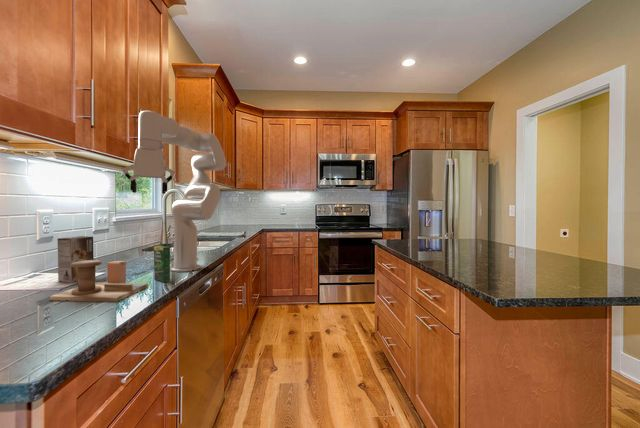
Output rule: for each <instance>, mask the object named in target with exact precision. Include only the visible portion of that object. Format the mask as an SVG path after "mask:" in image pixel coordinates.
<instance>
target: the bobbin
mask: <svg viewBox="0 0 640 428" xmlns="http://www.w3.org/2000/svg"><path fill="white" fill-rule="evenodd" d="M102 262H103V261H102V260H98V259H95V260H88V261H79V262H74V263H72V264H71V266H72V267H78V281H77V287H78V288H76V287H75V288H76V289H74V290H72V295H88V294H93V293H97V292H100V291H101V290H102V287H100V286H95V282H96V267H97V266H101V265H103V264H102Z"/></svg>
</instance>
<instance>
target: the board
mask: <svg viewBox="0 0 640 428" xmlns="http://www.w3.org/2000/svg"><path fill="white" fill-rule="evenodd" d="M95 286H100V287H102V290H101V291H100V292H97V293H93V294H88V295H72V290H74V289H76V288H78V286H77V287H73V288H71V289H68V290H65V291H61V292H58V293H55V294H53V295H50V296H49V301H59V300H60V302H62V301H63V302H65V301H66V300H68V301H69V302H111V303H113V302H118V301H121V300H123V299H126V298H127V297H130V296H132V295H134V294H137V293H138V292H140V291H143V290H144V289H146V288H149V283H147V282H146V283H143V282H141V283H140V282H139V283H138V282H126V283H108V282H99V281H98V282H96V281H95ZM68 301H67V302H68Z"/></svg>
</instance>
